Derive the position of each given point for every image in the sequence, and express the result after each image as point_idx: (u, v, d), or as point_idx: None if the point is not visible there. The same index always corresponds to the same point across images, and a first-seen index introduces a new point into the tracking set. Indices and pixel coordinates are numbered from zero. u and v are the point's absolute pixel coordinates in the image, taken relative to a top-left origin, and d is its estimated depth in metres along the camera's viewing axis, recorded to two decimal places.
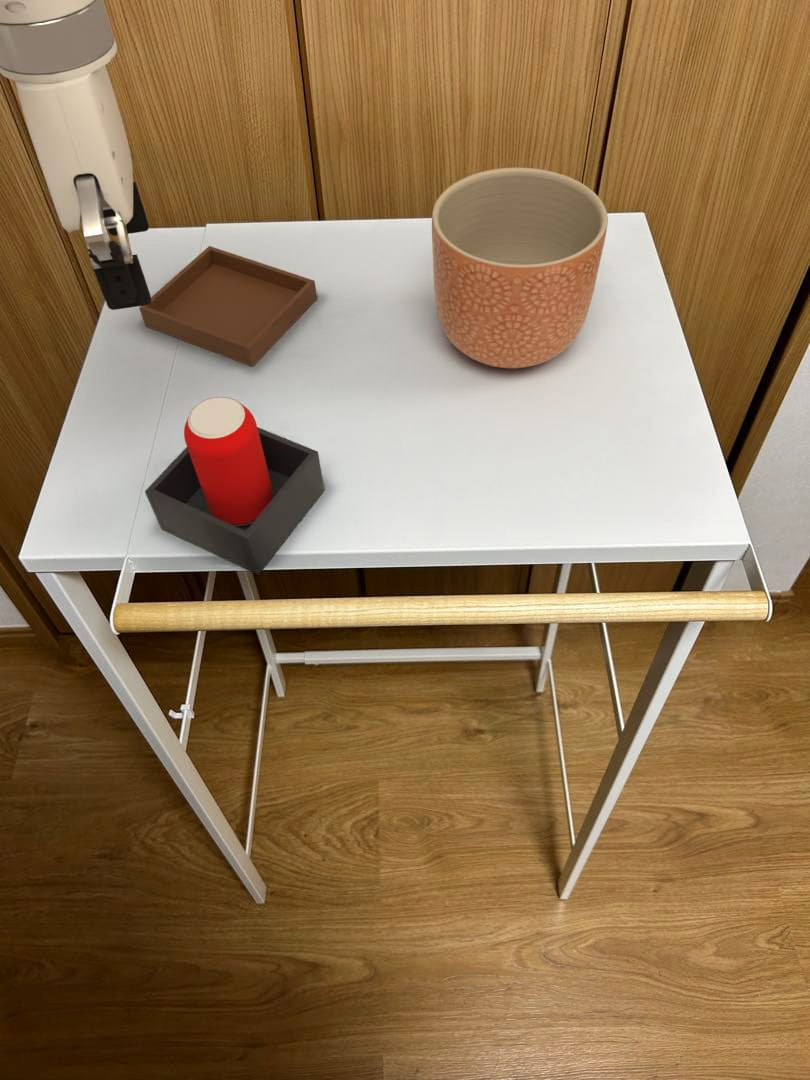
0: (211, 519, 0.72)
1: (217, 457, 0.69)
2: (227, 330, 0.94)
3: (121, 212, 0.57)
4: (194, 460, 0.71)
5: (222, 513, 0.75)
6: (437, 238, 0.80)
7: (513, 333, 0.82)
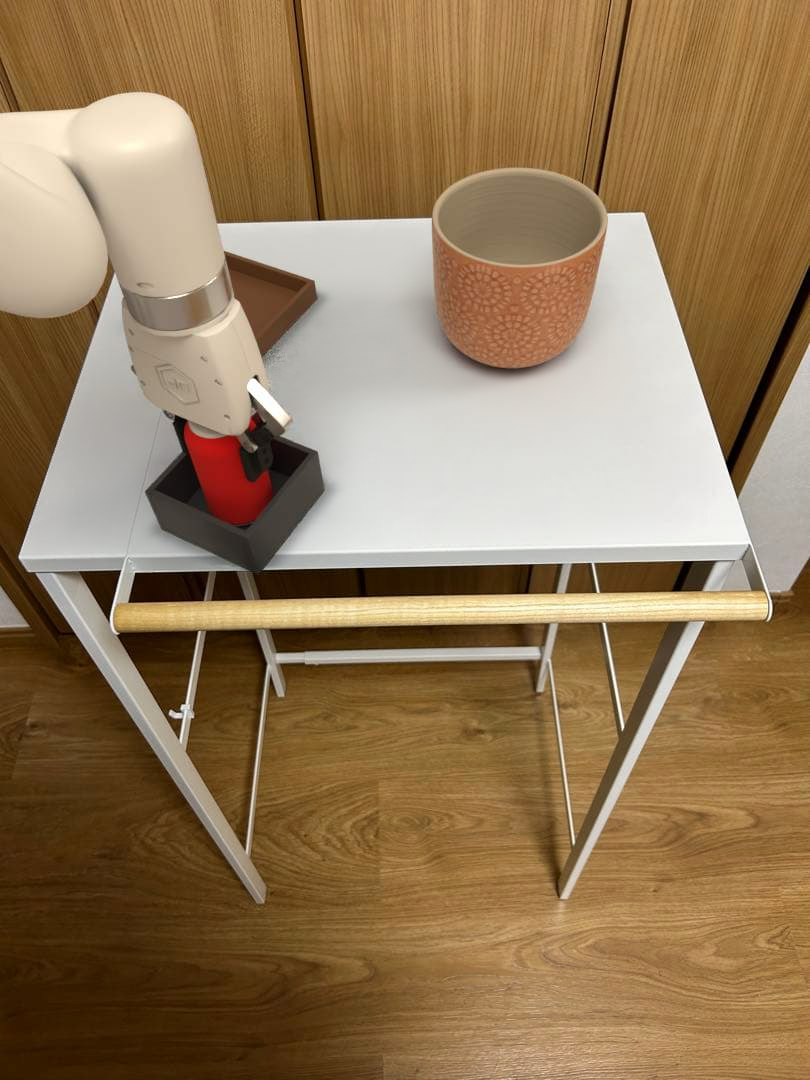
0: (211, 519, 0.72)
1: (217, 457, 0.69)
2: None
3: None
4: (194, 460, 0.71)
5: (222, 513, 0.75)
6: (437, 238, 0.80)
7: (513, 332, 0.82)
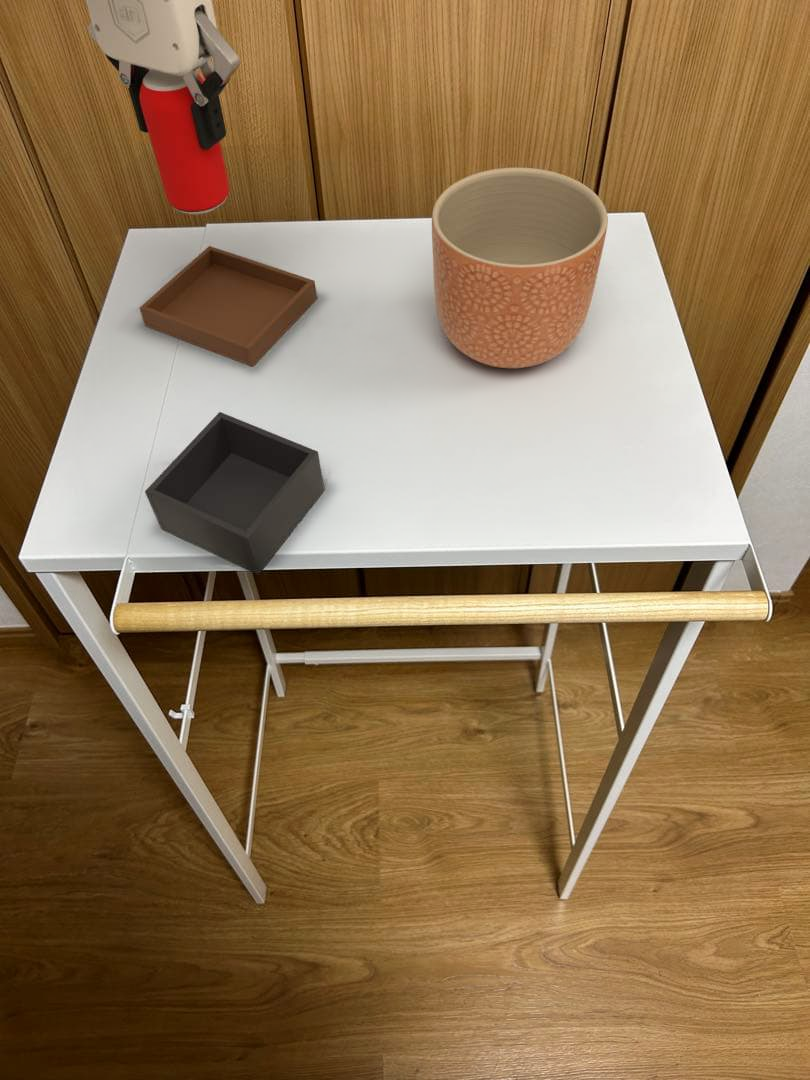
0: (211, 519, 0.72)
1: (170, 113, 0.72)
2: (227, 330, 0.94)
3: None
4: (149, 124, 0.74)
5: (178, 194, 0.78)
6: (437, 238, 0.80)
7: (513, 332, 0.82)
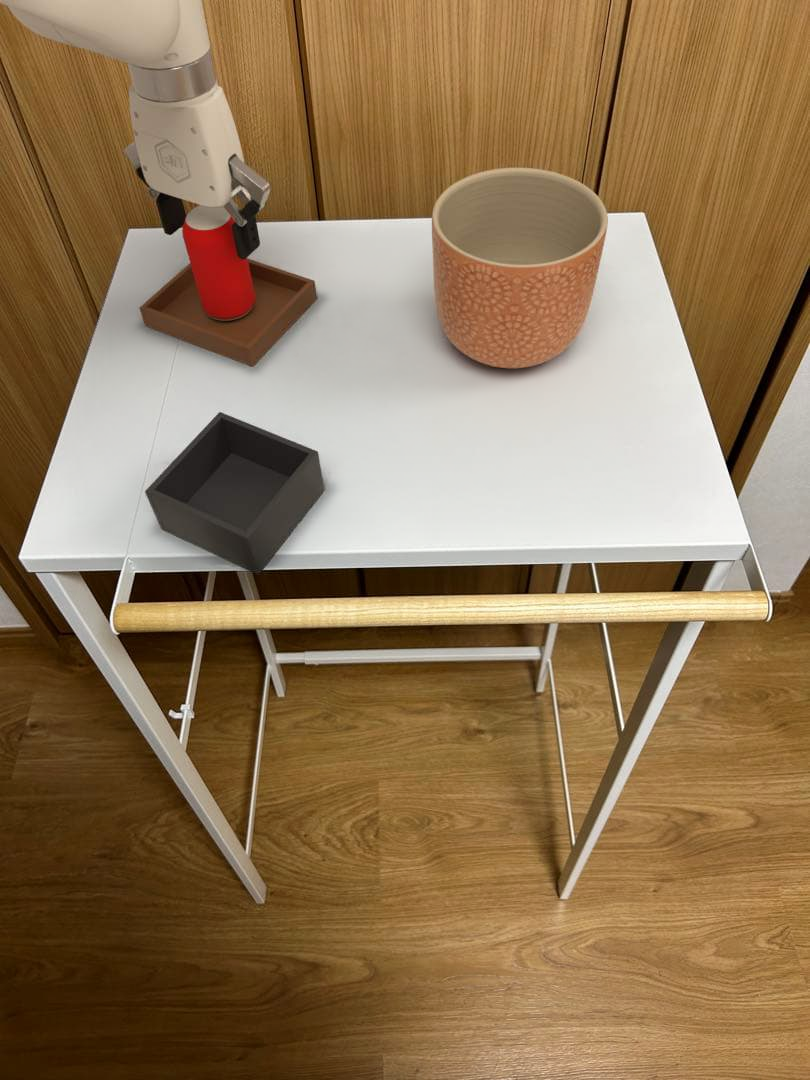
0: (211, 519, 0.72)
1: (208, 247, 0.86)
2: (227, 330, 0.94)
3: None
4: (190, 253, 0.88)
5: (213, 306, 0.93)
6: (437, 238, 0.80)
7: (513, 333, 0.82)
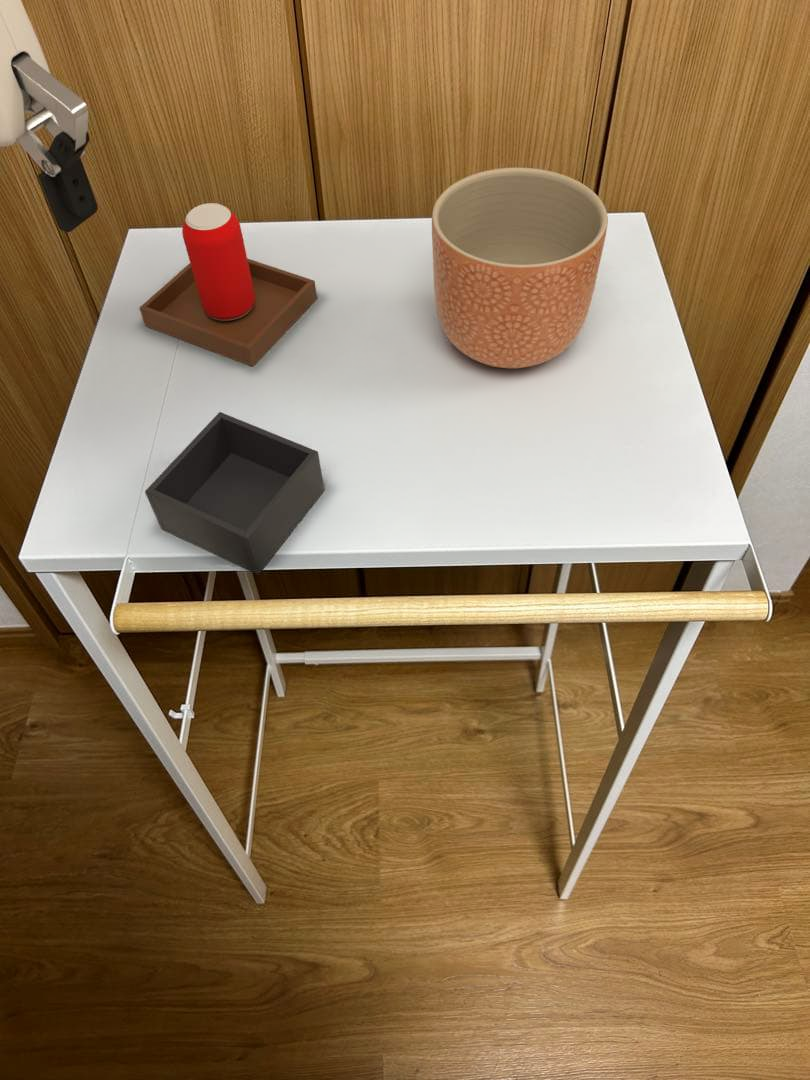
0: (211, 519, 0.72)
1: (208, 247, 0.86)
2: (227, 330, 0.94)
3: None
4: (190, 253, 0.88)
5: (213, 306, 0.93)
6: (437, 238, 0.80)
7: (513, 333, 0.82)
